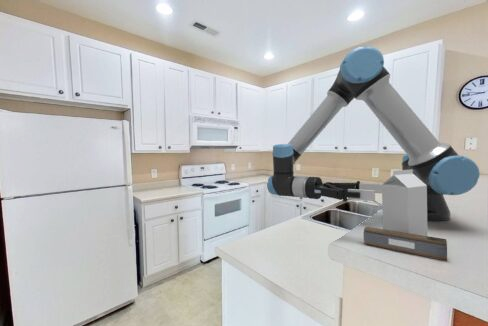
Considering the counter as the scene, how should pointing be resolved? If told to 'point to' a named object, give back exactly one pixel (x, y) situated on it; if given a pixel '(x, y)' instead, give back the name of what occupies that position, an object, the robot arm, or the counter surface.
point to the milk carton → (405, 203)
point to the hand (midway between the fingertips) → (379, 192)
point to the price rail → (407, 242)
